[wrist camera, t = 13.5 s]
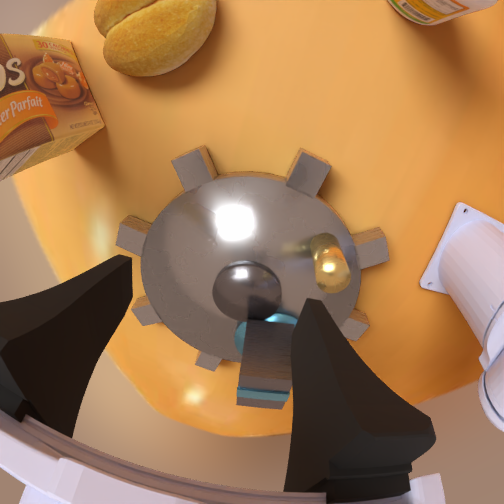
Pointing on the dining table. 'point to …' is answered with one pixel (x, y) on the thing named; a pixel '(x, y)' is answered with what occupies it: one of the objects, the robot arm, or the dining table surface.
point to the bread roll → (152, 33)
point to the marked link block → (265, 365)
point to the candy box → (41, 102)
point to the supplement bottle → (438, 9)
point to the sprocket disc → (247, 255)
